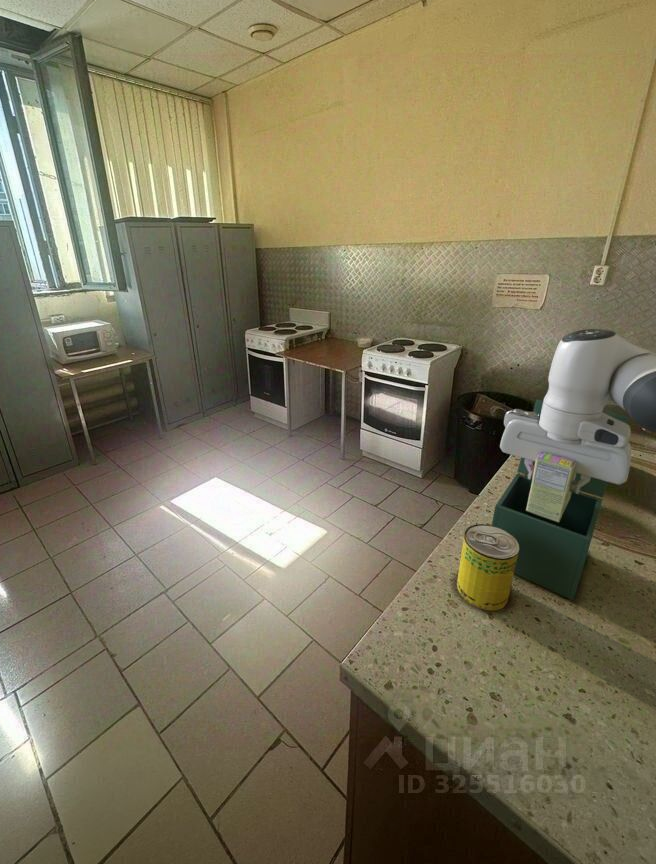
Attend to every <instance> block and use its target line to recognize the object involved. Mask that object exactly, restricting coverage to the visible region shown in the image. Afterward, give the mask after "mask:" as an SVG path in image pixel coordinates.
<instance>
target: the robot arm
mask: <svg viewBox="0 0 656 864" xmlns="http://www.w3.org/2000/svg"><path fill="white" fill-rule="evenodd" d="M547 380H548V388H547V392H546V394H545V395H544V397H543V400H542V401H543V405H542V410H541V414H539V413H534V412H533V411H527V410H523V409H520V408H514V409H511V410H508V411H507V412H506V413H505V414H504V418H503V426H504V431H503V433H502V436H501V440H500V443H499V448H500V450H501V452H502V453H505V454H508V455H511V456H515V457H518V458H520V459H521V458H525V461H524V464H525V466H526V468H527V470H528V472H529V474H528V475H527V476H528V479H530V480H532V479H533V473H534V466H533V462H534V461H536V458H537V456H538V455H539V454H540V452H546V453H550V454H554V455H558V456H562V457H566V458H569V459H573V460H575V461H576V463H575V467H574V471H573V472H575V473H579V474H581V479H580V480H579V481H578V482H577V481H572V483H571V486H570V489H569V492H572V493H575V494H579V492H581V491H580V487H582V486H584V485H585V484H587V483H588V482H589V481H590V478H591V477H593V478H596V479H600V480H604V481H607V482H608V483H611V484H615V485H618V486H619V485H622V484H624V483H626V482H628V478H629V473H630V468H631V460H632V445H631V443H630V438H631V431H632V429H631V426H630V425H629V424H628V423H626V422H625V423H624V422H622V421H619V420H617V419H615V418H613V417H611V416H608V415H606V414H604V413H605V412H604V408H605V407H606V406H607V405H618V406H619V407H620V408H621V409H623V410H624V411H625V412H626V413H627V414H628V416H629V417H630V418H631V419H632V420H633V421H634V422H635V424H636V425H638V426H639V427H640V428H641V429H643V430H646V431H648V432H651V433H654V434H656V352H655V351H652V350H649V349H646V348H644V347H640V346H639V345H636V344H633V343H631V342H630V341H627V340H625V339H624V338H623V337H621V336H620V335H619V334H618V333H617V332H616V331H613V330H611V329H610V330H609V329H604V328H598V329H597V328H588V329H580V330H576V331H572V332H570V333H568V334H565V335H564V336H563V337H562V338H561V339H560V341H559V343H558V345H557V346H556V349H555V352H554V354H553V358H552V362H551V365H550V369H549V373H548V377H547ZM602 412H604V413H602ZM539 419H540V420H539Z"/></svg>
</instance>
